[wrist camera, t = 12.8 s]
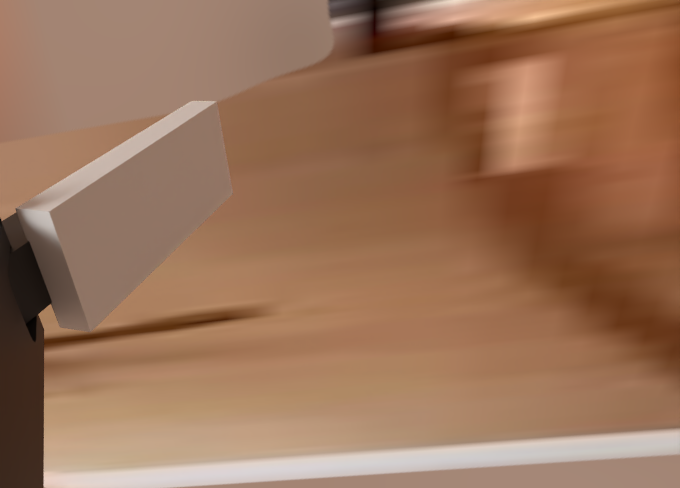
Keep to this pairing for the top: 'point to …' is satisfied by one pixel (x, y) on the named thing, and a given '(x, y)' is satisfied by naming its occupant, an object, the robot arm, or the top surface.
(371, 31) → the top surface
